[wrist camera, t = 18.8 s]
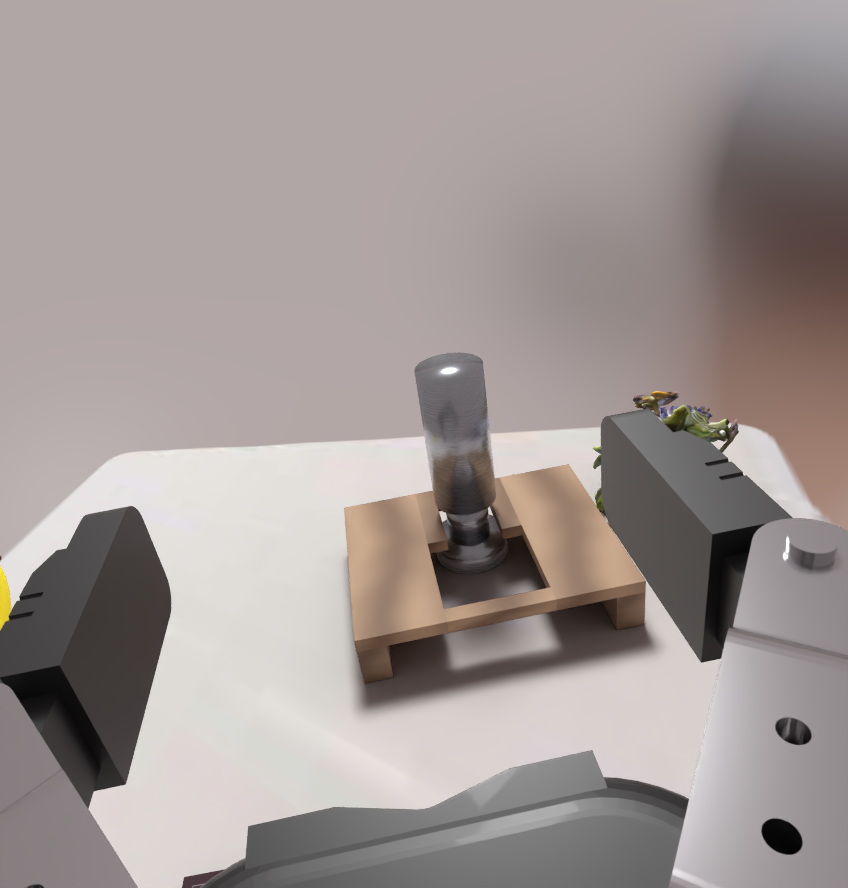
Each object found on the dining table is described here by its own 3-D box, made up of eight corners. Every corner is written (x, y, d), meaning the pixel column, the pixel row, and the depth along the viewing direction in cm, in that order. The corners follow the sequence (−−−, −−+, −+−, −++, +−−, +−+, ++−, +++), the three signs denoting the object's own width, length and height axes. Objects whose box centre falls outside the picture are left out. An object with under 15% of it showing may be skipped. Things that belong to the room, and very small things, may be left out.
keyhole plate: (364, 683, 47) (354, 640, 45) (352, 544, 61) (344, 507, 59) (644, 624, 48) (645, 580, 46) (570, 501, 62) (568, 464, 60)
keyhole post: (443, 580, 55) (413, 390, 47) (432, 536, 61) (403, 358, 52) (515, 565, 56) (498, 374, 48) (498, 523, 61) (479, 344, 53)
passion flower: (650, 520, 67) (709, 409, 65) (719, 570, 57) (791, 440, 55) (555, 483, 64) (613, 364, 62) (610, 529, 54) (681, 389, 51)
